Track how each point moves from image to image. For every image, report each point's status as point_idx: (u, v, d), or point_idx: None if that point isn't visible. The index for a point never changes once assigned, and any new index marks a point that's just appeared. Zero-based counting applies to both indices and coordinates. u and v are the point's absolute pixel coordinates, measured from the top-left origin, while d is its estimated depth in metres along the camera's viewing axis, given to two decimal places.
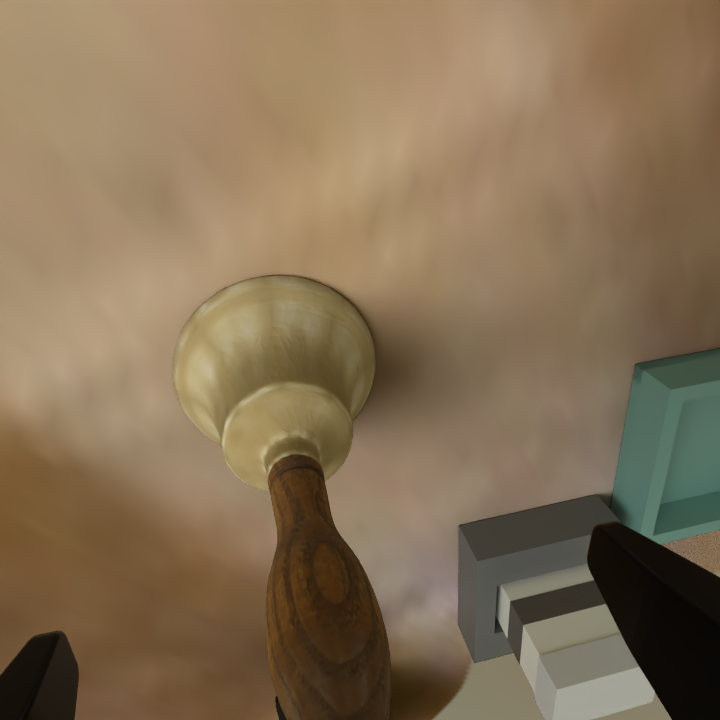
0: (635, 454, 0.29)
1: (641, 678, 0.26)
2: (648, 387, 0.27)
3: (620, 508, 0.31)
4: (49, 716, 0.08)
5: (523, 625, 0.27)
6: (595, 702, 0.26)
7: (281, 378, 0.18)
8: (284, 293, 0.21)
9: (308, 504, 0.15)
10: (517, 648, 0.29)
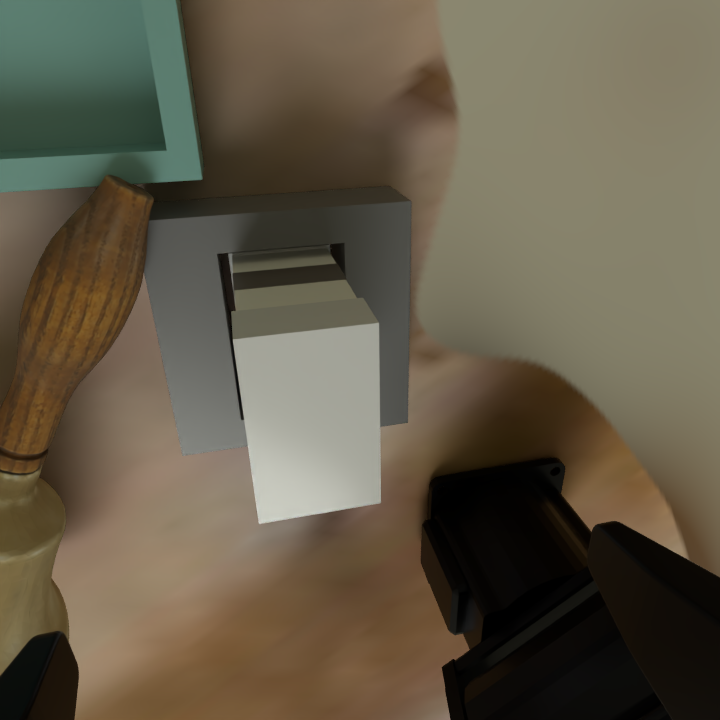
0: None
1: (282, 374, 0.13)
2: None
3: None
4: (49, 716, 0.08)
5: None
6: (327, 445, 0.14)
7: None
8: None
9: (11, 388, 0.16)
10: None
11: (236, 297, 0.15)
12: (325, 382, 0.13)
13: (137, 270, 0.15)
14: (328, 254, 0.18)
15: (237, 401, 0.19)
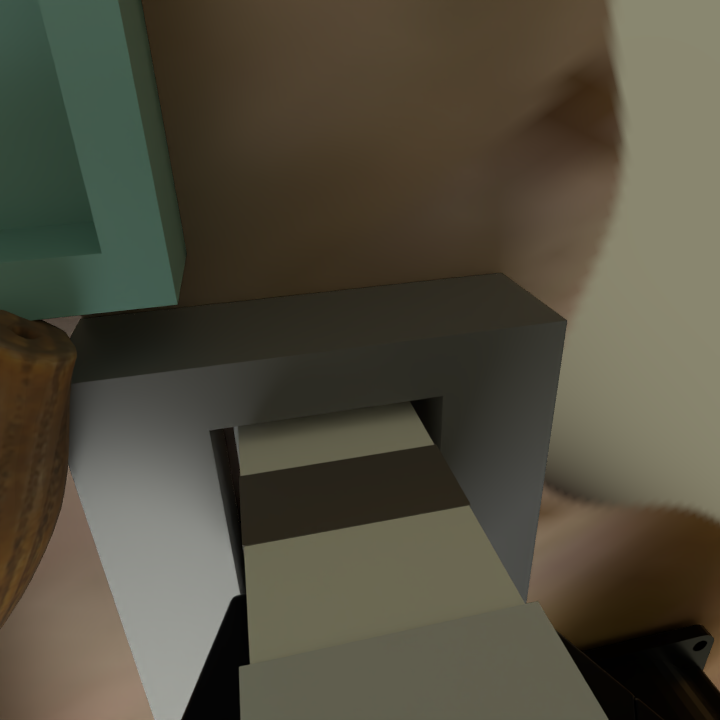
0: None
1: None
2: None
3: None
4: None
5: None
6: None
7: None
8: None
9: None
10: None
11: (249, 579, 0.07)
12: None
13: (45, 498, 0.07)
14: (411, 412, 0.10)
15: None
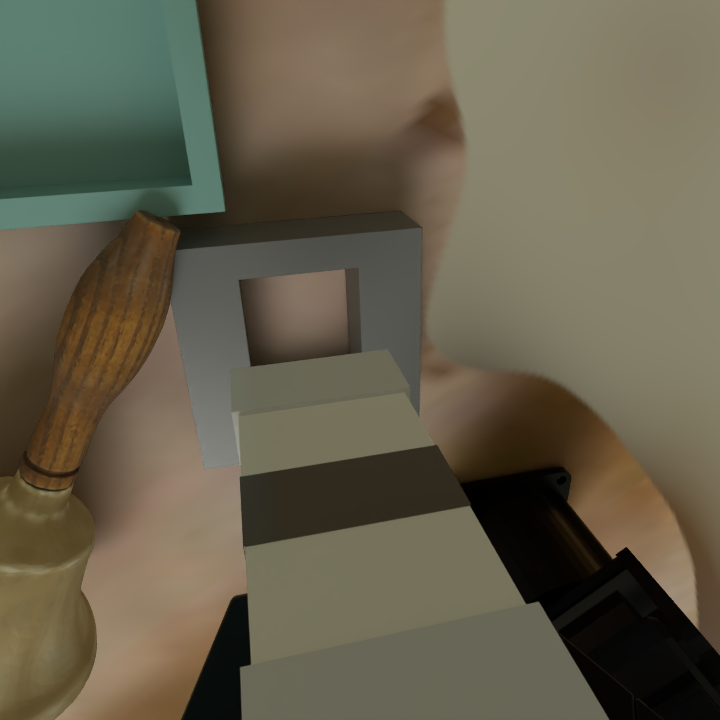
0: None
1: None
2: None
3: None
4: None
5: None
6: None
7: None
8: None
9: (46, 409, 0.17)
10: None
11: (250, 580, 0.07)
12: None
13: (165, 298, 0.16)
14: (412, 413, 0.10)
15: None
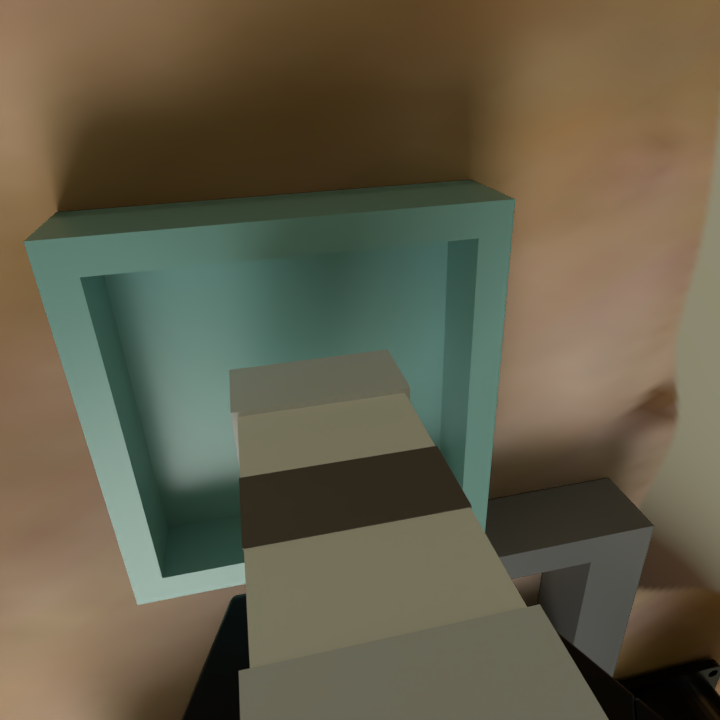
0: None
1: None
2: None
3: None
4: None
5: None
6: None
7: None
8: None
9: None
10: None
11: (249, 582, 0.07)
12: None
13: None
14: (412, 413, 0.10)
15: None
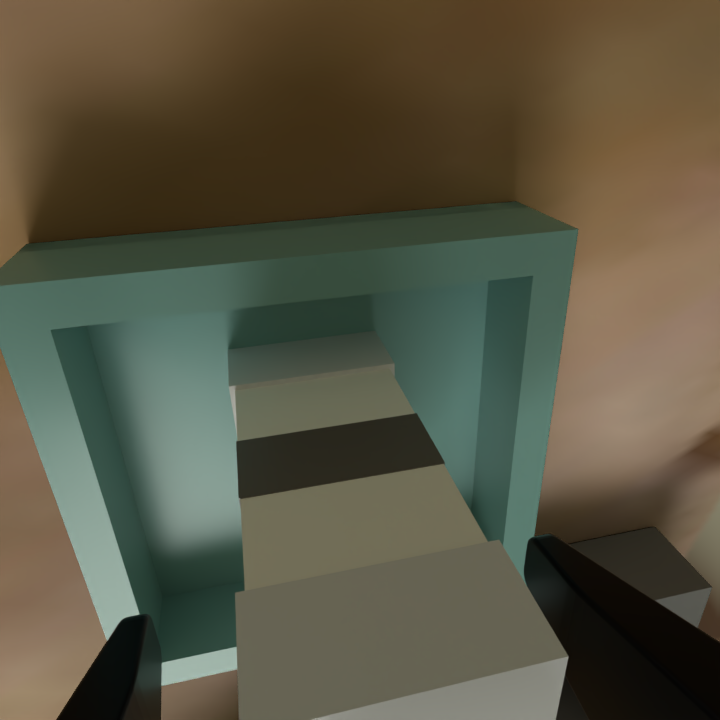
0: None
1: None
2: None
3: None
4: (146, 694, 0.08)
5: None
6: None
7: None
8: None
9: None
10: None
11: (244, 525, 0.08)
12: None
13: None
14: (395, 386, 0.11)
15: None
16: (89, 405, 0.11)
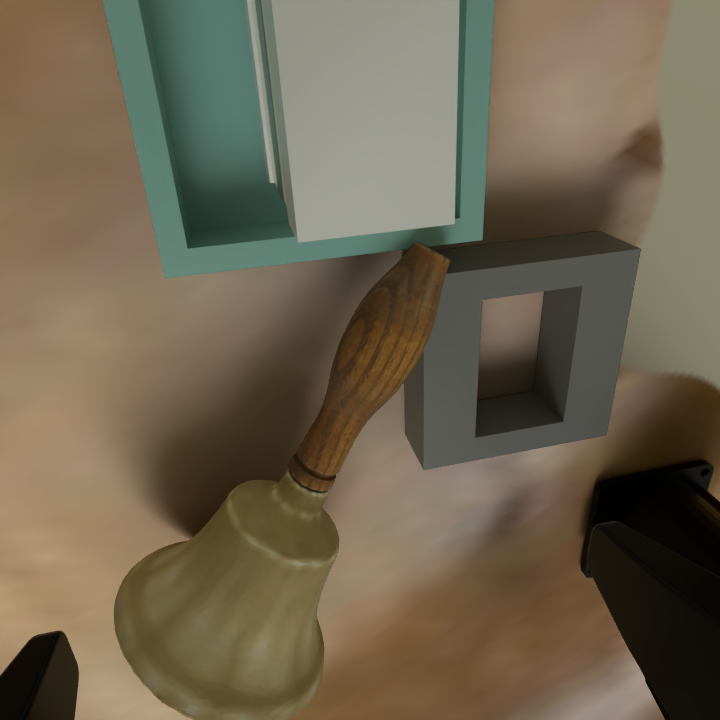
0: None
1: None
2: None
3: None
4: (49, 716, 0.08)
5: (284, 201, 0.14)
6: (388, 117, 0.10)
7: (234, 537, 0.19)
8: (141, 624, 0.19)
9: (322, 420, 0.19)
10: None
11: None
12: (387, 2, 0.10)
13: (435, 319, 0.18)
14: None
15: (474, 422, 0.22)
16: None
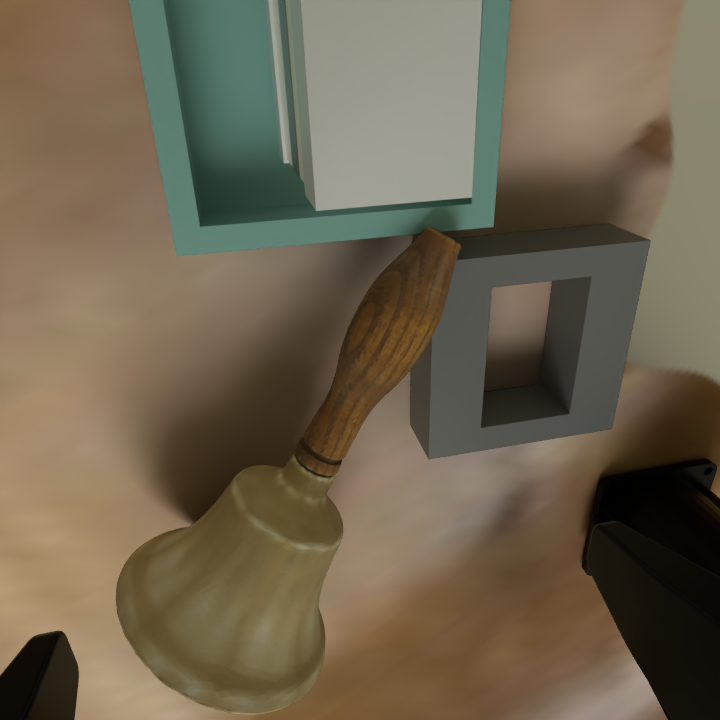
0: None
1: None
2: None
3: None
4: (49, 716, 0.08)
5: (300, 176, 0.14)
6: (409, 86, 0.10)
7: (238, 519, 0.19)
8: (143, 606, 0.19)
9: (329, 404, 0.19)
10: None
11: None
12: None
13: None
14: None
15: (480, 411, 0.22)
16: None
